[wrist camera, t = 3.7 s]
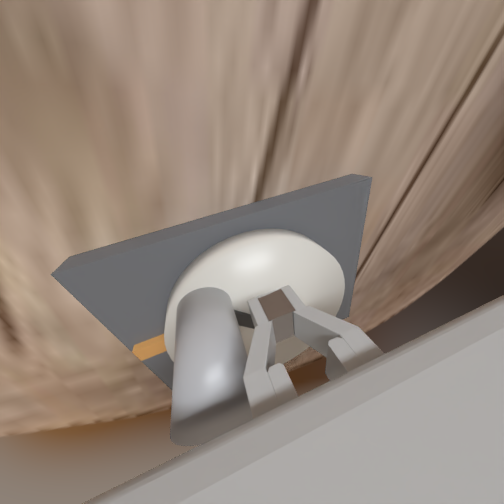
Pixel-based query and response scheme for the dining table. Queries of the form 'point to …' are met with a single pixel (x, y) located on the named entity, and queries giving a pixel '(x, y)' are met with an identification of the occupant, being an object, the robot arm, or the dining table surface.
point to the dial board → (194, 244)
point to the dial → (235, 323)
